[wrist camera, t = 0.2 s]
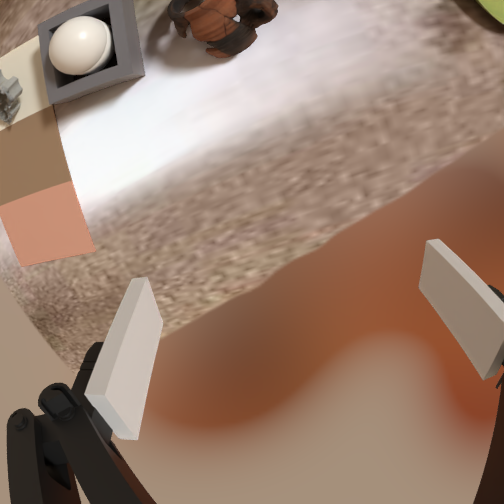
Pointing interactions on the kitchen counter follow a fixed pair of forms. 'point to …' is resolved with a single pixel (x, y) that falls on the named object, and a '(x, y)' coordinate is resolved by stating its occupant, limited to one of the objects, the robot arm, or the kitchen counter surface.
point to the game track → (37, 171)
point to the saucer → (493, 8)
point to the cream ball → (82, 46)
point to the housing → (125, 40)
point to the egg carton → (9, 97)
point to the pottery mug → (223, 23)
